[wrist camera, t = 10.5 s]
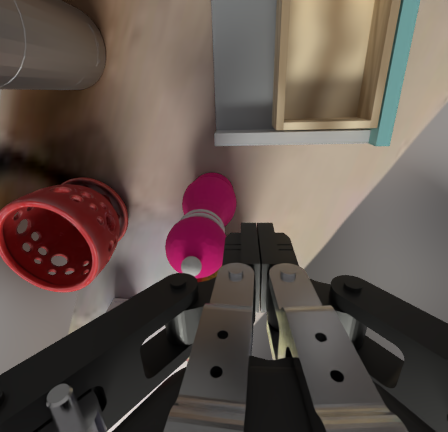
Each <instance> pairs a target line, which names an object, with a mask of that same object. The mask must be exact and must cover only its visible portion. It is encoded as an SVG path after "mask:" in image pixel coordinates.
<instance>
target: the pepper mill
mask: <svg viewBox="0 0 448 432" xmlns="http://www.w3.org/2000/svg"><path fill="white" fill-rule="evenodd" d="M182 206H183V212H184V216H183V218H182V219H181V221H179V222H178V223H177V224H175V225H174V226H173V228H172V229H171V231H170V232H169V234H168V236H167V240H166V246H165V248H166V255H167V259H168V261H169V263H170V265H171V266H172V267H173V268H174V269H175V270H176V271H177V272H179V273H187V274H191V275H193V276H194V277H195V278H203V277H207V276H210V275H212V274H214V273H215V272H216V271H217V270H219V268H220V267H221V266H222V262H223V253H224V245H225V238H226V235H225V228H224V227H225V226H226V225H227V224H228V223H229V222H230V221H231V219H232V218H233V216H234V213H235V210H236V196H235V193H234V191H233V187H232V185H231V183H230V181H229V180H228V179H227V178H226V177H225V176H223V175H221V174H218V173H206V174H203V175H201V176H199V177H198V178H197V179H196V180H195V181H194V182H192V183H191V184H190V185H189V186H188V188H187V189H186V191H185V193H184V196H183V202H182Z"/></svg>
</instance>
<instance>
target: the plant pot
mask: <svg viewBox="0 0 448 432" xmlns="http://www.w3.org/2000/svg"><path fill="white" fill-rule="evenodd" d="M17 212H18V214H17V215H16V216H15V217H14V215H15V214H16V213H17ZM23 219H27V221H28V226H27V229H26V231H25V232H23V233H21V234H19V233H18V232H17V227H18V225H19V223H20V222H21V220H23ZM127 226H128V213H127V209H126V206H125V204H124V202H123V201H122V199H121V198H120V196H119V195H118V194H117V193H116V192H115V191H114V190H113V189H112V188H110V187H109V186H108V185H106V184H104V183H102V182H100V181H98V180H95V179H92V178H84V177H83V178H74V179H70V180H68V181H66V182H64V183H62V184H61V185H55V186H51V187H47V188H43V189H40V190H37V191H35V192H32V193H30V194H27V195H25V196H23V197H21V198H19V199H17V200H15V201H13V202H11V203H9V204H8V205H6V206H5V207H4V208H3V209H1V211H0V256H1V257H2V259H3V260H4V261H5V262H6V264H7V265H8V266H9V267H10V268H11V269H12V270H13V271H14V272H15V273H16V274H17V275H19V276H20V277H21V278H23V279H24V280H26V281H27V282H29V283H31V284H33V285H35V286H37V287H40V288H43V289H46V290H49V291H54V292H72V291H76V290H80V289H82V288H84V287H86V286H87V285H89V284H90V283H91V282H92V281H93V280H94V279H95V278H96V276H97V275H98V274H99V273H100V272H101V271H102V269H103V268H104V267H105V266H106V264H107V263H108V261H109V260H110V258H111V256H112V254H113V252H114V250H115V248H116V246H117V243H118V241H119V240H120V239H121V238H122V237H123V236H124V234H125V232H126V230H127ZM33 232H37V233H38V235H39V239H38V240H37V241H34V240H33V239H32V238H31V234H32V233H33ZM24 243H28V244H29V245H30V251H29V252H26V251H25V250H23V248H22V245H23V244H24ZM40 247H42V248H44V249H46V251H47V254H46V255H41V254H40V253H39V252H38V249H39V248H40ZM54 256H63V257H65V258H66V259H67V264H65V265H64V266H55V265H53V264H52V263H51V258H52V257H54ZM34 259H38V260H40V261H41V264H37V263H35V262H34ZM86 263H89V264H88V265H87V266H83V265H84V264H86ZM51 271H52V272H55V273H56V274H55V275H50V274H48V272H51ZM67 271H74V272H73V273H72V274H69V275H66V274H65V272H67ZM85 273H86V274H85Z"/></svg>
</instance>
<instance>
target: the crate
mask: <svg viewBox="0 0 448 432" xmlns="http://www.w3.org/2000/svg"><path fill="white" fill-rule="evenodd" d="M400 3H401V0H277V6H276V31H275V57H274V82H273V108H272V126H273V127H274V128H275V130H312V129H356V128H377V126H378V120H379V115H380V110H381V104H382V99H383V94H384V88H385V83H386V78H387V72H388V67H389V62H390V56H391V51H392V46H393V41H394V35H395V30H396V25H397V19H398V14H399V9H400Z"/></svg>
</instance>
